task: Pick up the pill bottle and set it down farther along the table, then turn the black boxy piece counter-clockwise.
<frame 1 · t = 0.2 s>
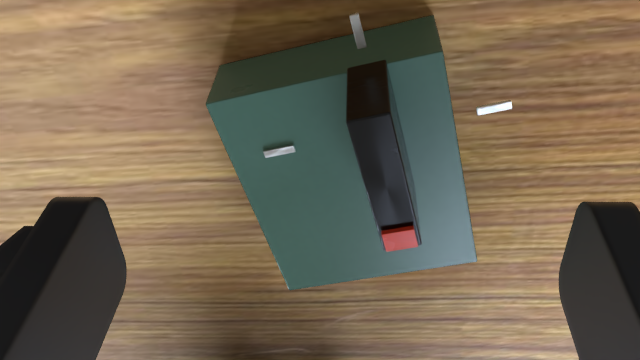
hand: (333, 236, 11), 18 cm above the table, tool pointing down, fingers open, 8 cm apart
black boxy piece: (384, 159, 24), point 6 cm above the table, hinge at 0.0°
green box: (353, 146, 31), on the table
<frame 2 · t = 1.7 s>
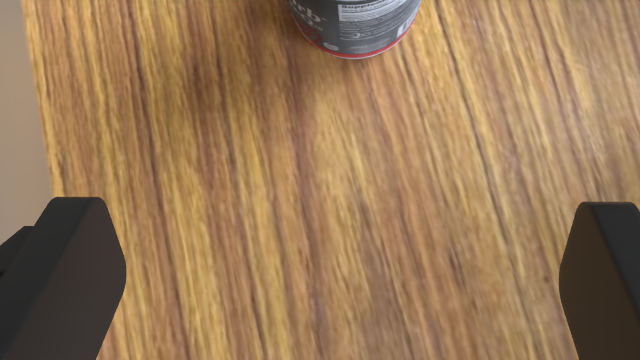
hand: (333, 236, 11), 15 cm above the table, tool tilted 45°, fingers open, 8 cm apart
pill bottle: (354, 2, 27), on the table
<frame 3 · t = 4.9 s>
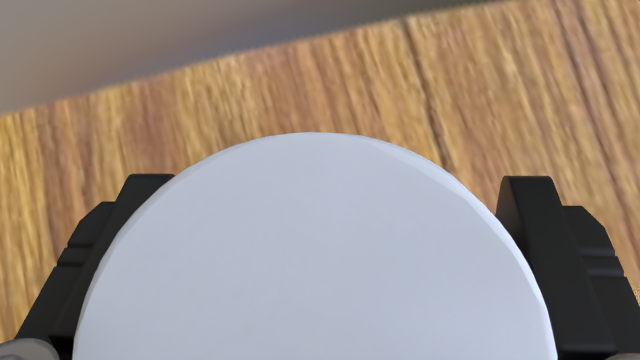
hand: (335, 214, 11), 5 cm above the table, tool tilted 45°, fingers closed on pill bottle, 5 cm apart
pill bottle: (344, 293, 16), on the table, touching gripper
when the fingers open (5 cm above the table, at t = 11.9 s): pill bottle stays where it is, on the table.
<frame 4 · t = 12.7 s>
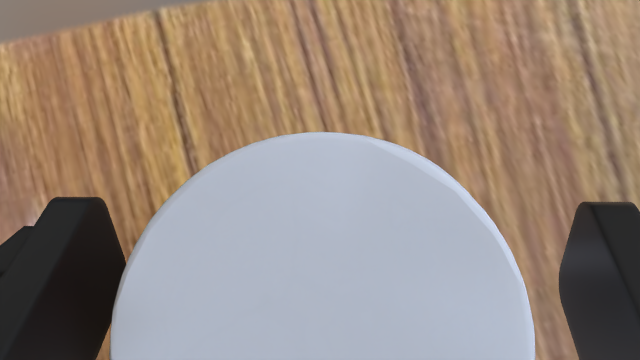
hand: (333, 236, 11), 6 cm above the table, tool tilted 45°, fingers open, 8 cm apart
pill bottle: (347, 285, 17), on the table
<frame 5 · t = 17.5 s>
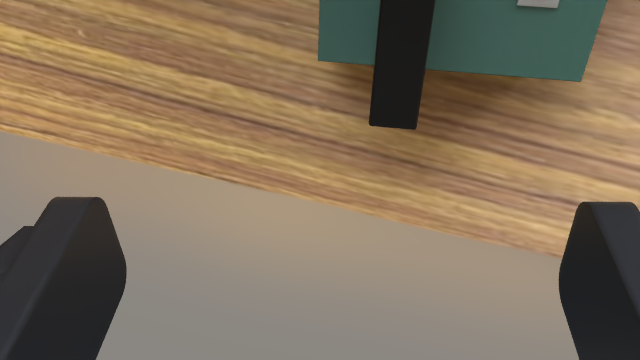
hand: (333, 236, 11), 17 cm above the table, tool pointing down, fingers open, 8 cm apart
black boxy piece: (403, 14, 20), point 6 cm above the table, hinge at 0.0°
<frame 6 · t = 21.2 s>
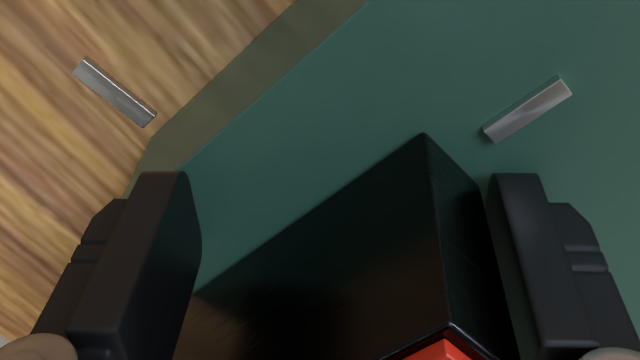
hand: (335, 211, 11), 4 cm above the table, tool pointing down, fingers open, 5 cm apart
black boxy piece: (307, 338, 10), point 6 cm above the table, hinge at 0.0°
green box: (479, 127, 14), on the table
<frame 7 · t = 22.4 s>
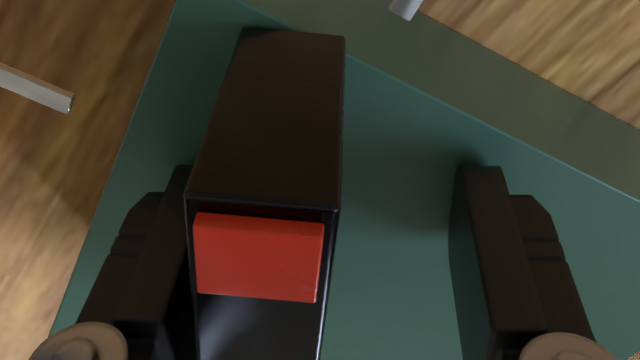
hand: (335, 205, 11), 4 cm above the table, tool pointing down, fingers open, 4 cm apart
black boxy piece: (271, 279, 10), point 6 cm above the table, hinge at 112.7°
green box: (368, 200, 16), on the table
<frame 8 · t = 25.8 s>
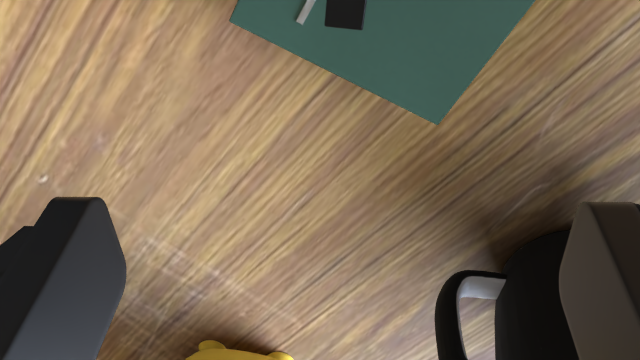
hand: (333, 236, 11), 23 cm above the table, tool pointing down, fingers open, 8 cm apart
mug: (563, 269, 43), on the table
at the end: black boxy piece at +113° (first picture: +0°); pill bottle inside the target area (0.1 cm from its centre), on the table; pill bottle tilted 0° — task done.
